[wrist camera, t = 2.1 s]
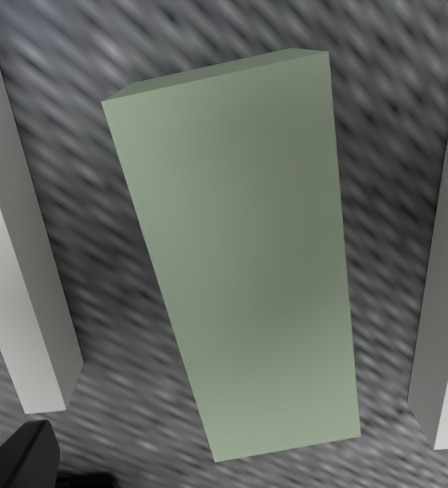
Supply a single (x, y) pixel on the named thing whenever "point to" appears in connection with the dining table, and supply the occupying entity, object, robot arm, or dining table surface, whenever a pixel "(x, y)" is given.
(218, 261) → the plug block
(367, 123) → the dining table surface
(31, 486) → the robot arm
